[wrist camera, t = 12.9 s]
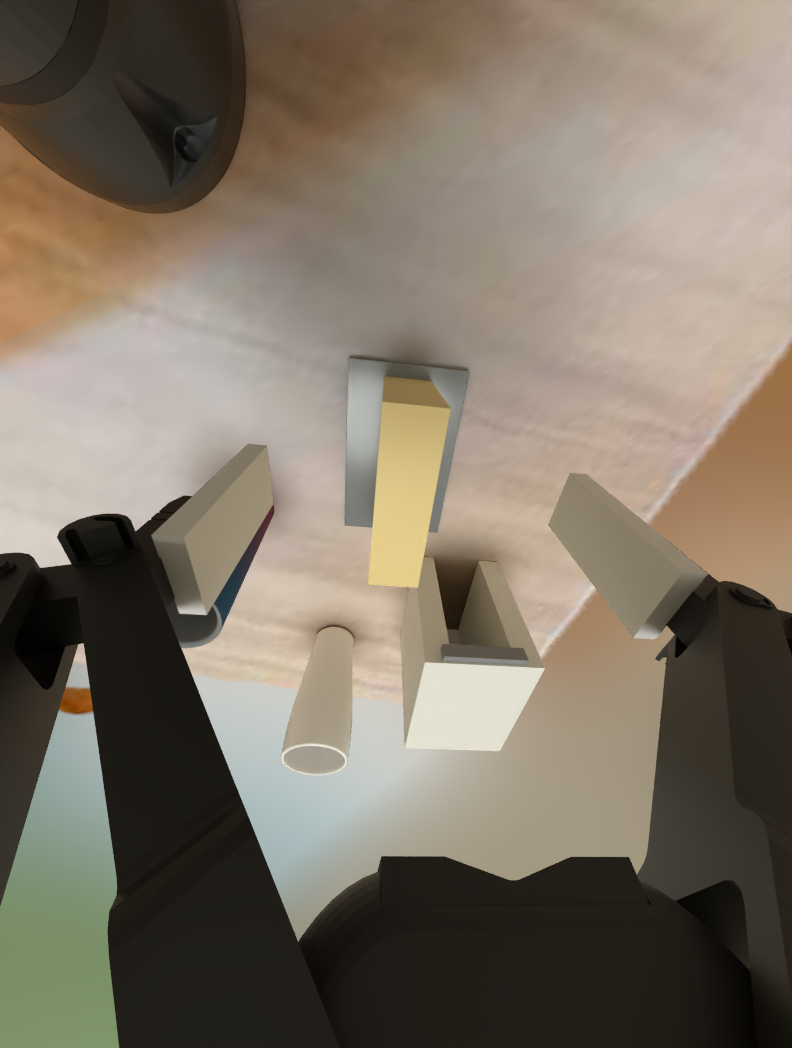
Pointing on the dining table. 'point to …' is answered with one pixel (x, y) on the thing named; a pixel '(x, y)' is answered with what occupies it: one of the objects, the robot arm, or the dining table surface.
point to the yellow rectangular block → (406, 478)
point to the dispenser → (465, 664)
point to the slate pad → (366, 430)
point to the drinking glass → (322, 708)
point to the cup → (207, 627)
